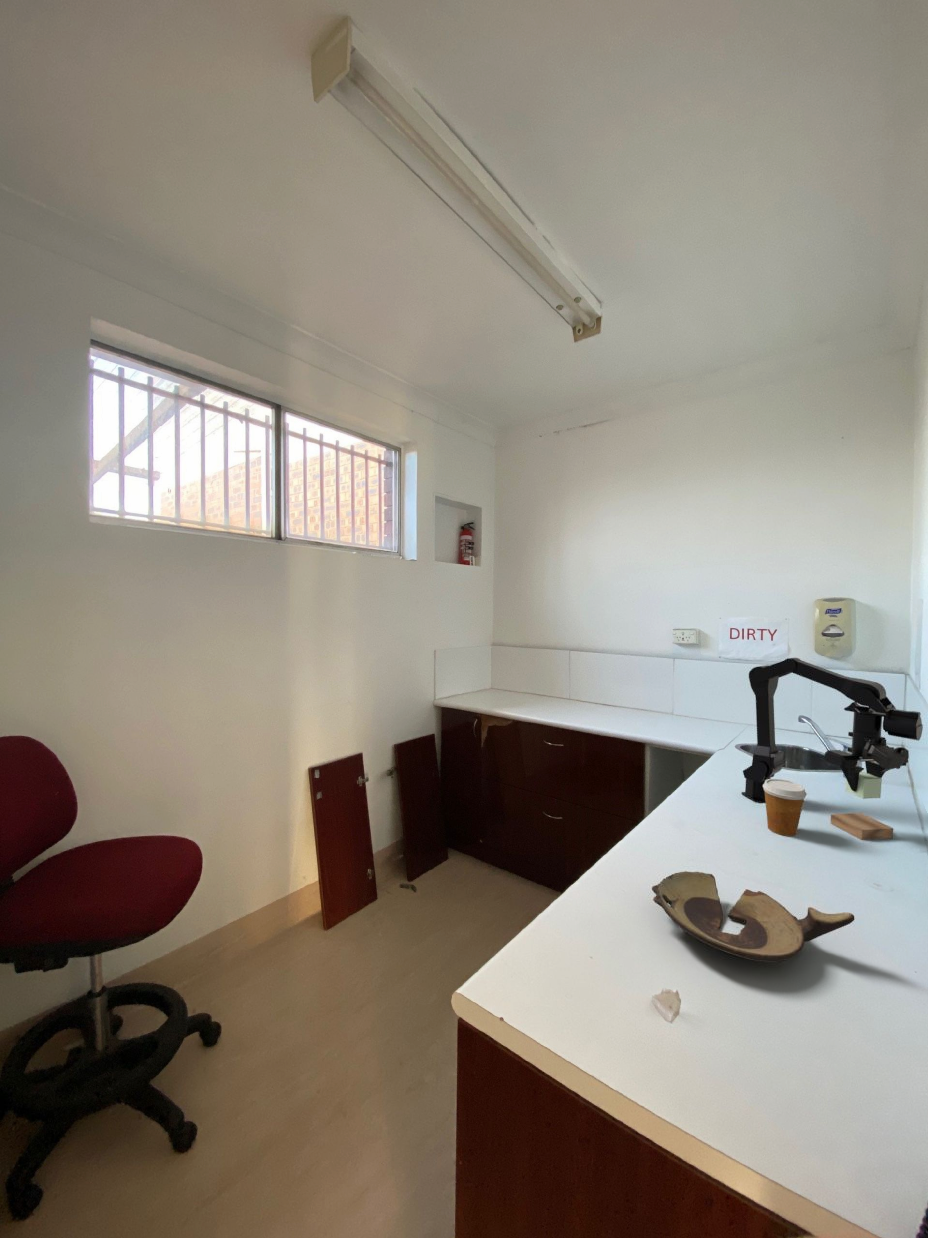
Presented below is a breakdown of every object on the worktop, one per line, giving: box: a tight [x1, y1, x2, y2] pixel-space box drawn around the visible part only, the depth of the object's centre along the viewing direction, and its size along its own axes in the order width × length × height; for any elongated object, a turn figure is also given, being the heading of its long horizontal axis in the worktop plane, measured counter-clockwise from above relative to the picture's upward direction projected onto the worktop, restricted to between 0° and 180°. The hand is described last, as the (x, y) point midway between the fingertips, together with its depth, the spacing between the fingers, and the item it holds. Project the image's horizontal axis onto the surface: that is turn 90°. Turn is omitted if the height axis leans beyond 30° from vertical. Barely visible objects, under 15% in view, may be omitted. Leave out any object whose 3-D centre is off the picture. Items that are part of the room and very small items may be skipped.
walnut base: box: [830, 812, 894, 841], centre depth 131 cm, size 9×9×2 cm
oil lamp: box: [651, 870, 855, 963], centre depth 88 cm, size 22×30×8 cm
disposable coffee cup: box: [763, 778, 808, 837], centre depth 130 cm, size 10×10×12 cm
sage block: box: [845, 771, 883, 800], centre depth 131 cm, size 5×5×5 cm
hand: (862, 790), depth 131 cm, fingers closed on sage block, 5 cm apart
